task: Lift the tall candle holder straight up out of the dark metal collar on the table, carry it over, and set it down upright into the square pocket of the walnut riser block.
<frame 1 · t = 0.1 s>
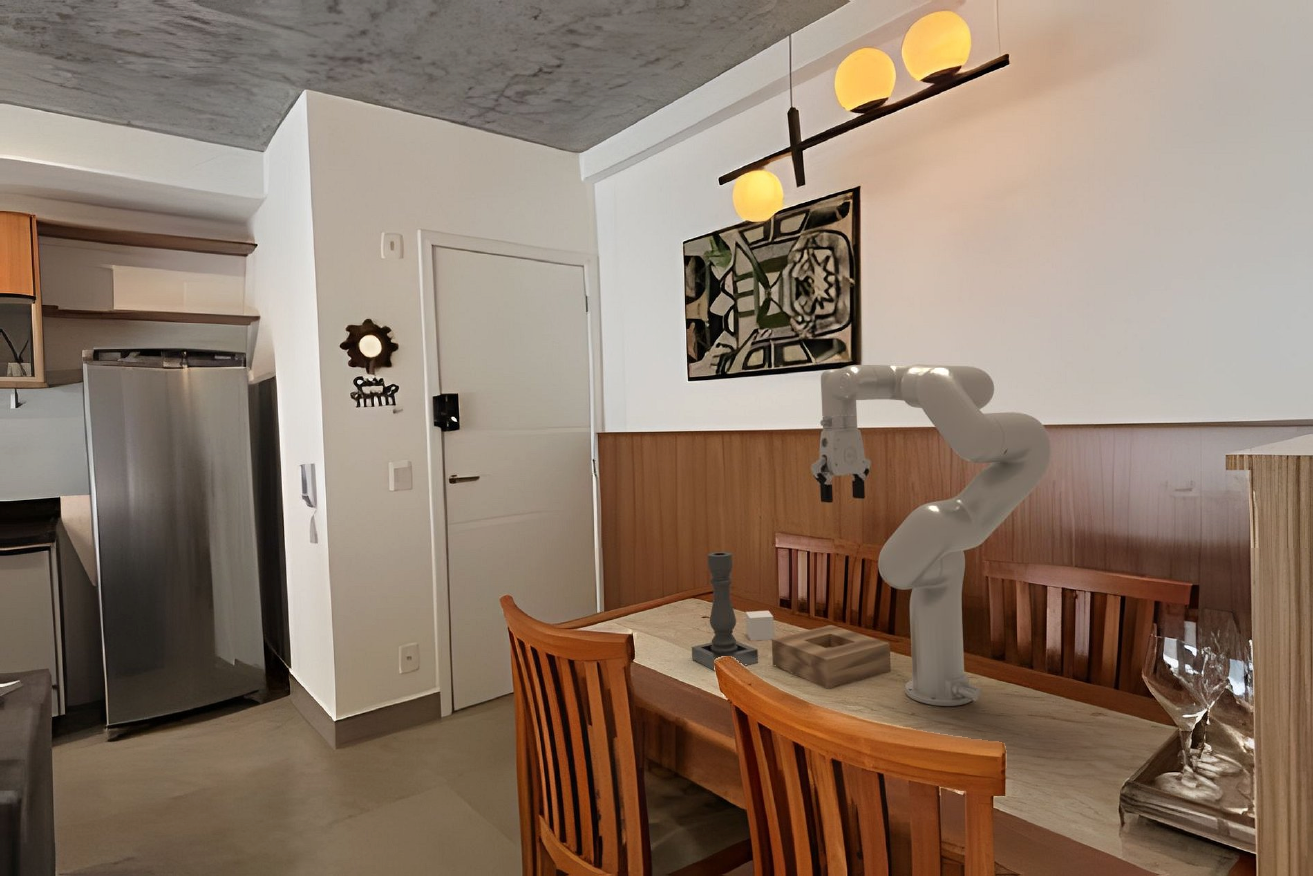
hand: (843, 500, 161), 37 cm above the table, tool pointing down, fingers open, 9 cm apart
candle holder: (724, 662, 166), resting in metal collar
metal collar: (724, 661, 166), on the table
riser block: (830, 667, 158), on the table
white cube: (760, 638, 184), on the table
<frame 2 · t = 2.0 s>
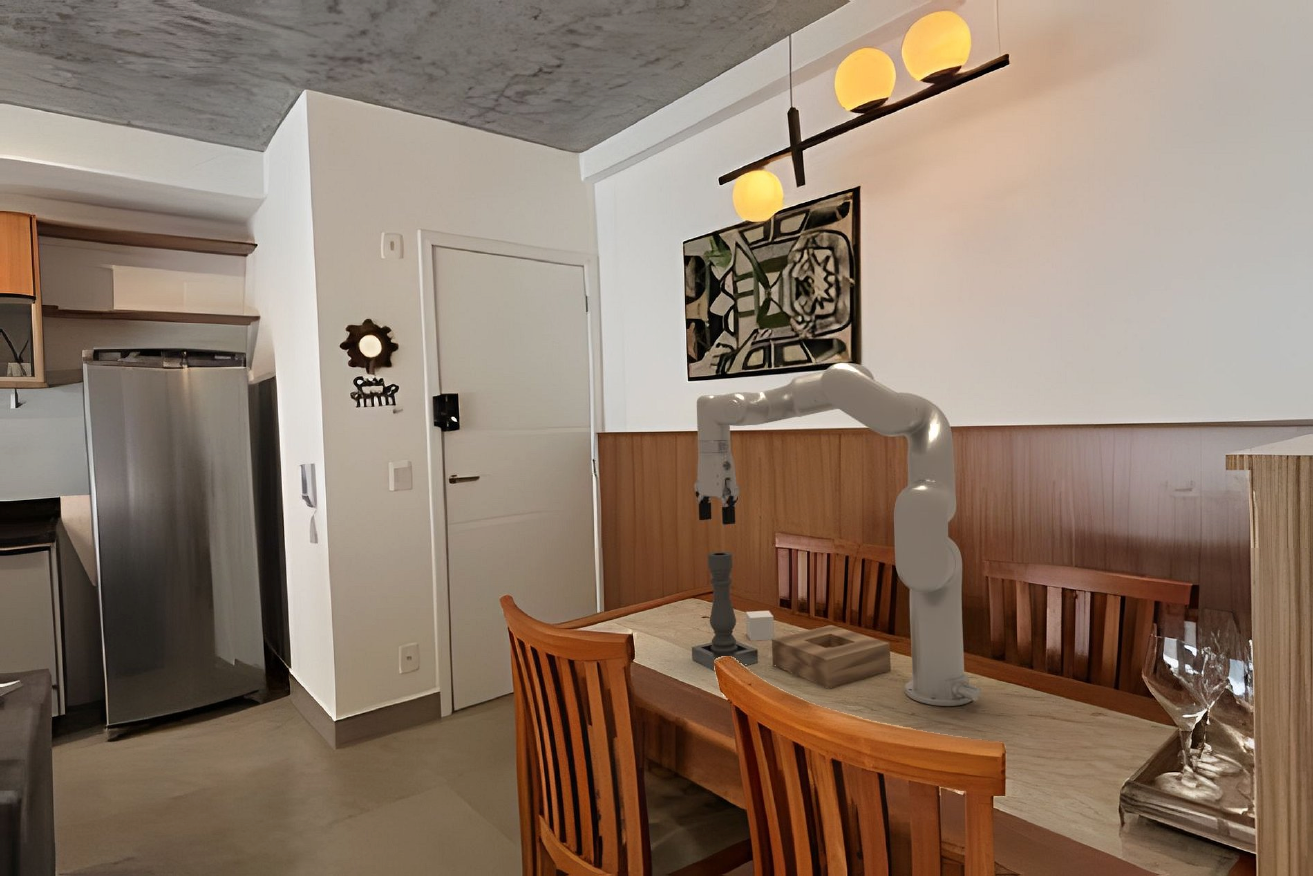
hand: (716, 521, 166), 33 cm above the table, tool pointing down, fingers open, 9 cm apart
nothing on the table moved.
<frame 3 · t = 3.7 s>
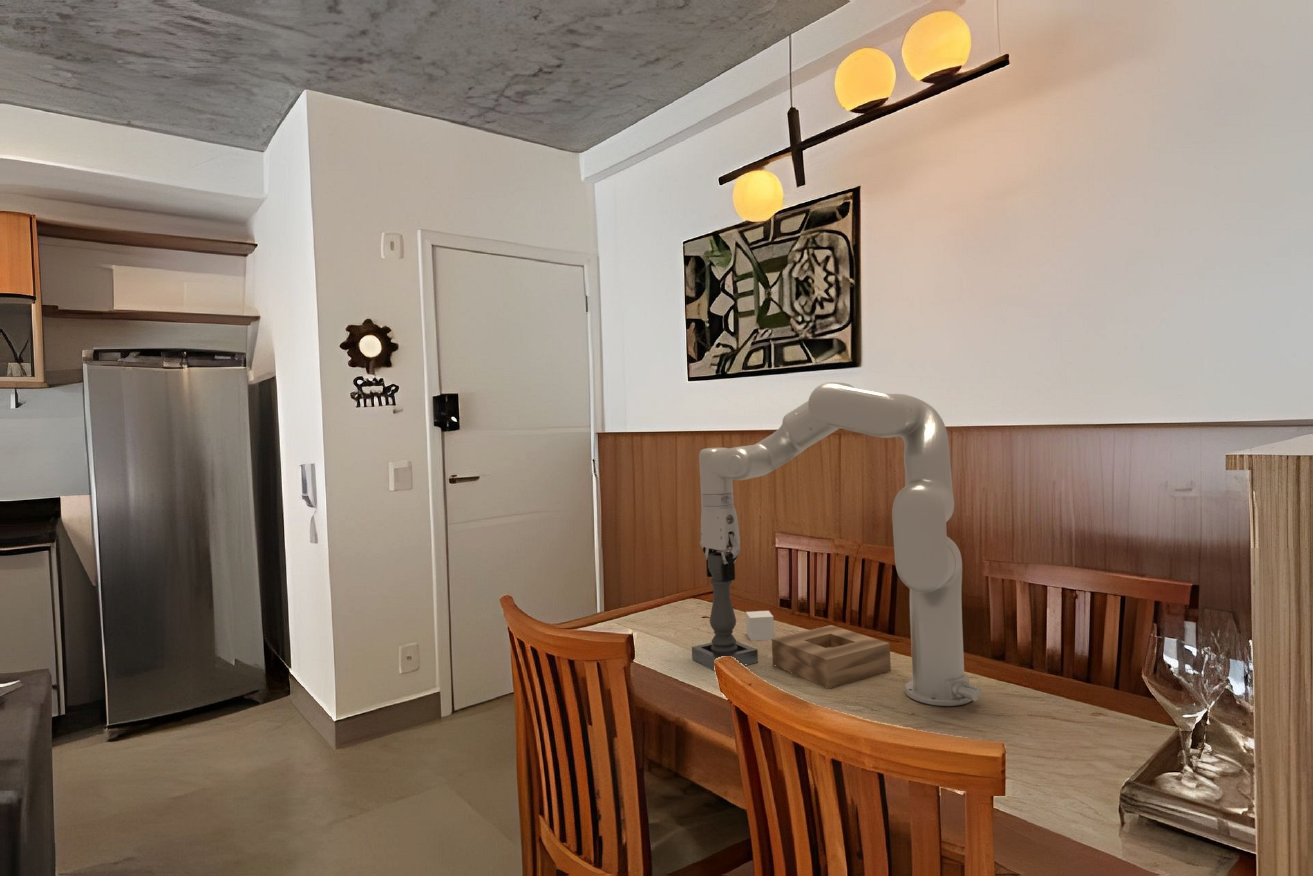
hand: (720, 577, 166), 20 cm above the table, tool pointing down, fingers closed on candle holder, 5 cm apart
candle holder: (724, 662, 166), resting in metal collar, touching gripper
everything else where it was.
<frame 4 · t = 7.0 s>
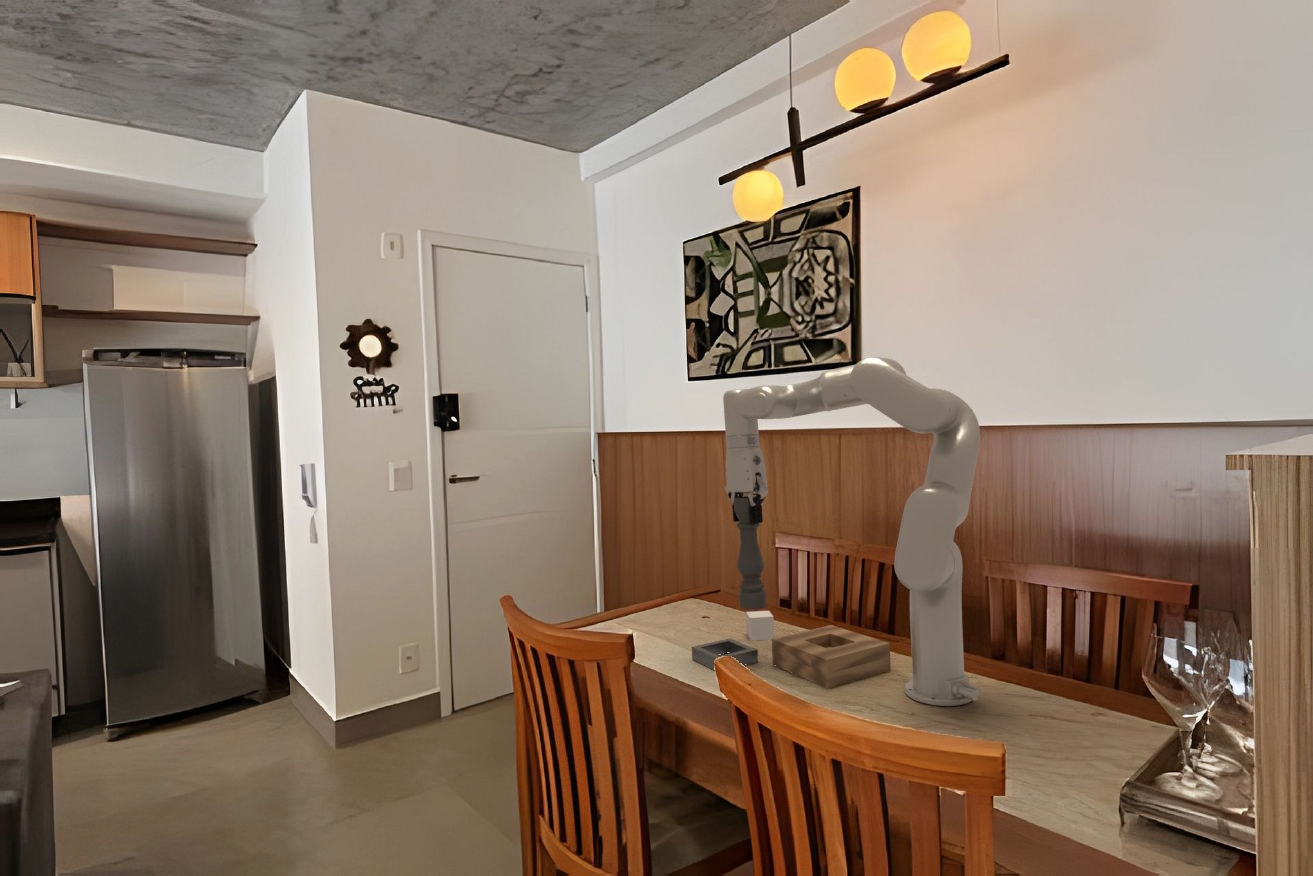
hand: (747, 521, 164), 33 cm above the table, tool pointing down, fingers closed on candle holder, 5 cm apart
candle holder: (753, 607, 164), point 13 cm above the table, touching gripper
everything else where it was.
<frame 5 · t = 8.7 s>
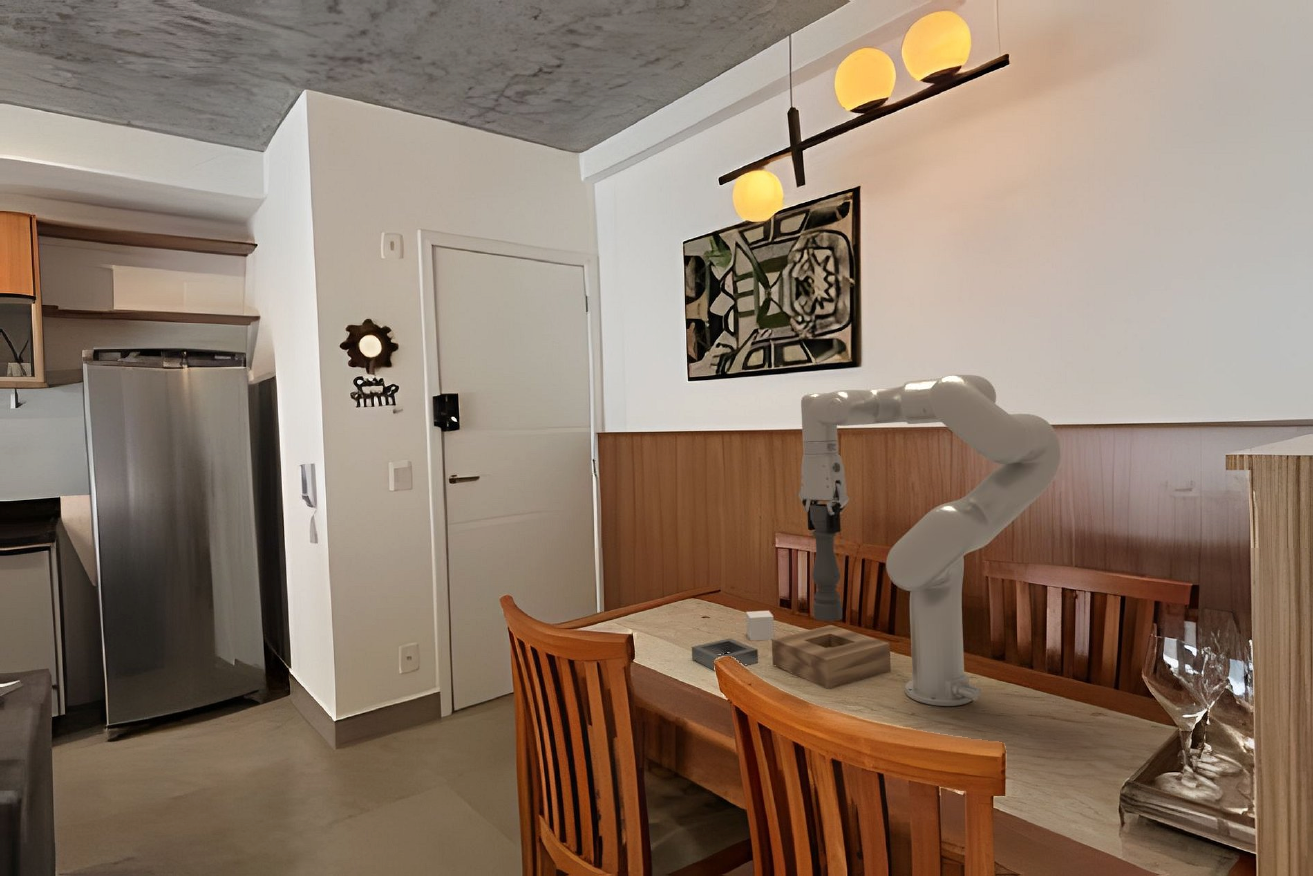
hand: (824, 530, 158), 31 cm above the table, tool pointing down, fingers closed on candle holder, 5 cm apart
candle holder: (828, 618, 158), point 11 cm above the table, touching gripper
everything else where it was.
when the fingers open (24 cm above the table, at t = 10.2 s): candle holder drops 1 cm, resting on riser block.
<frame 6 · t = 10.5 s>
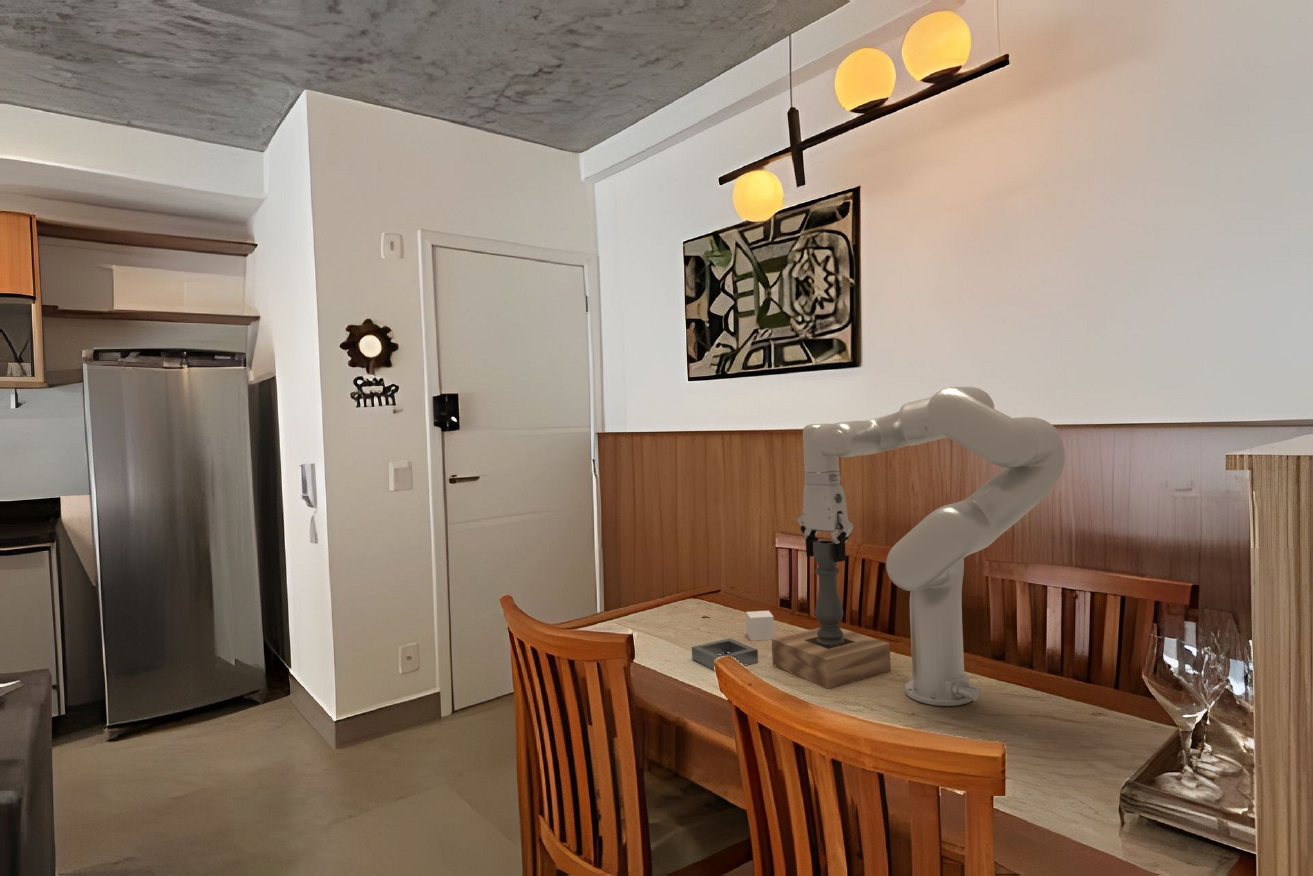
hand: (825, 558, 158), 24 cm above the table, tool pointing down, fingers open, 8 cm apart
candle holder: (831, 655, 158), point 3 cm above the table, touching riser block
everything else where it was.
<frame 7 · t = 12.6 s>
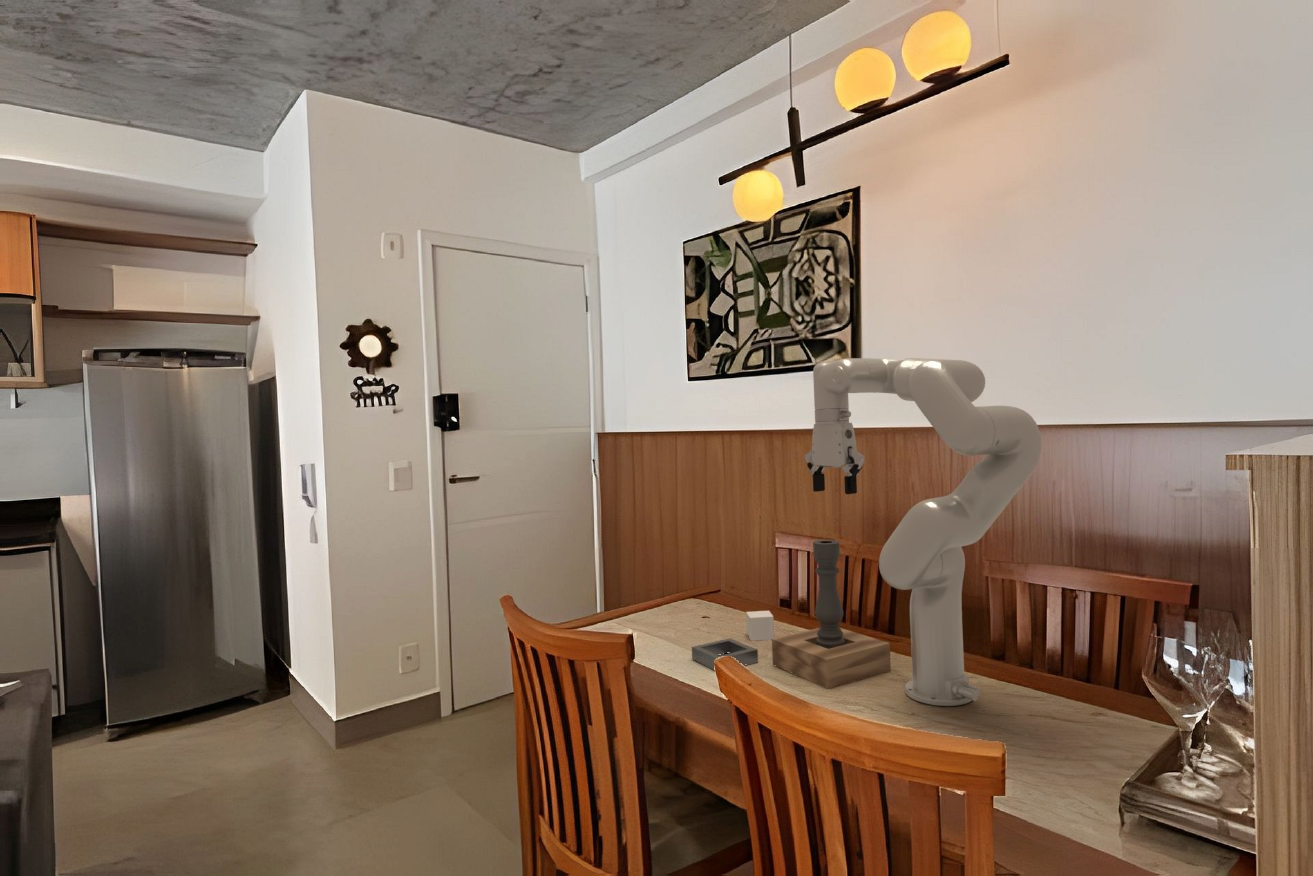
hand: (834, 492, 162), 38 cm above the table, tool pointing down, fingers open, 9 cm apart
nothing on the table moved.
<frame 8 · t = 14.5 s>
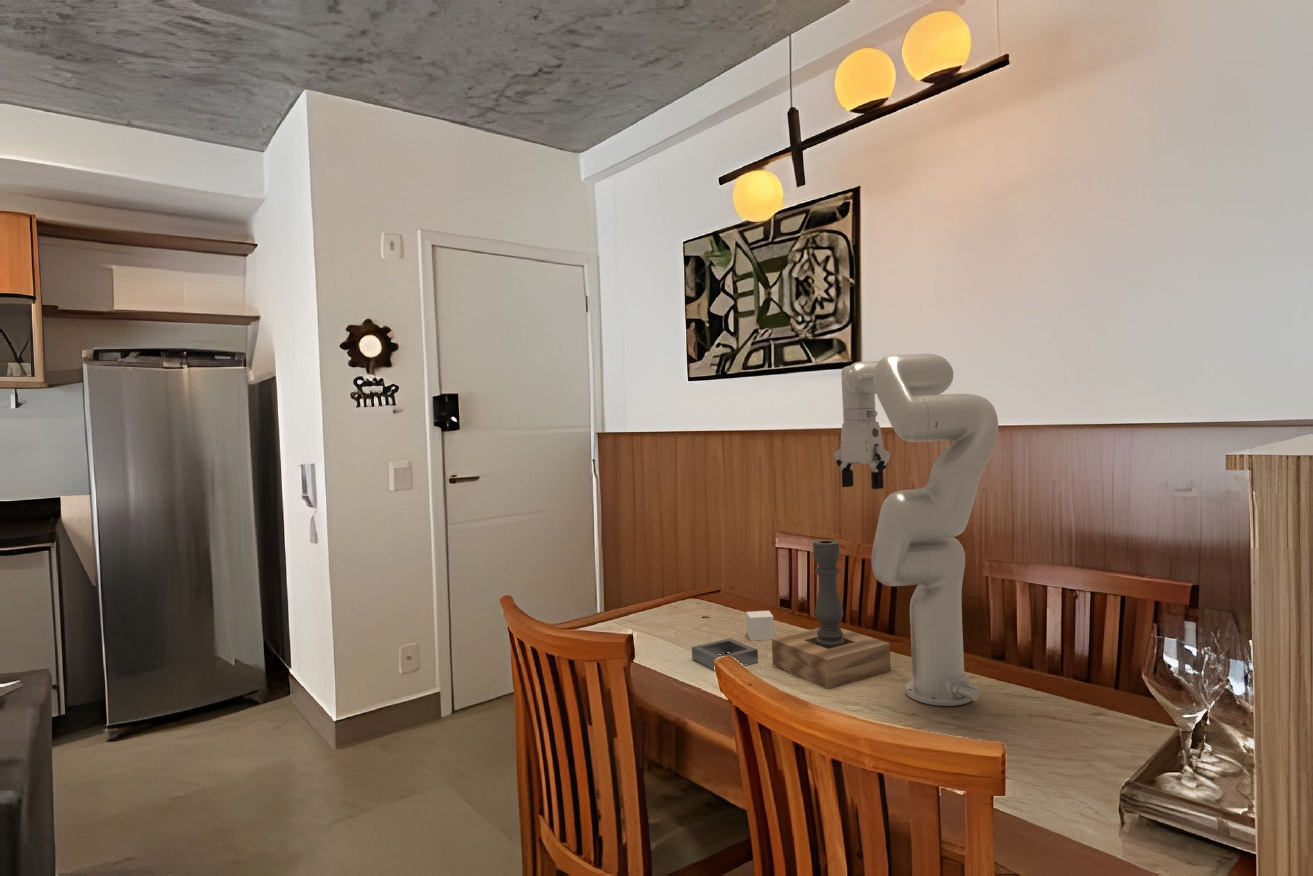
hand: (862, 487, 172), 38 cm above the table, tool pointing down, fingers open, 9 cm apart
nothing on the table moved.
at the end: candle holder 0.3 cm off-centre on the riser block, point 2.8 cm above the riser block's base; candle holder tilted 0°; the gripper is holding nothing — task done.
